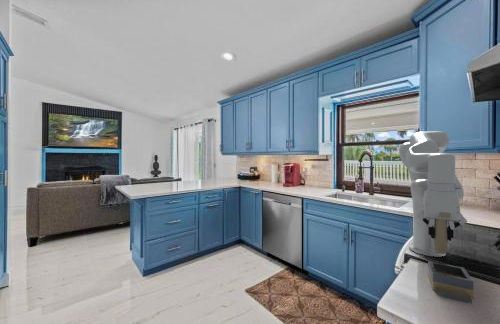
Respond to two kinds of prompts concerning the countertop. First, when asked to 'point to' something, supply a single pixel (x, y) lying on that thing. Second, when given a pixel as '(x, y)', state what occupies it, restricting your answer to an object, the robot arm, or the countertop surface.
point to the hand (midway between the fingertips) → (440, 237)
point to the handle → (441, 234)
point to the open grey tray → (451, 281)
